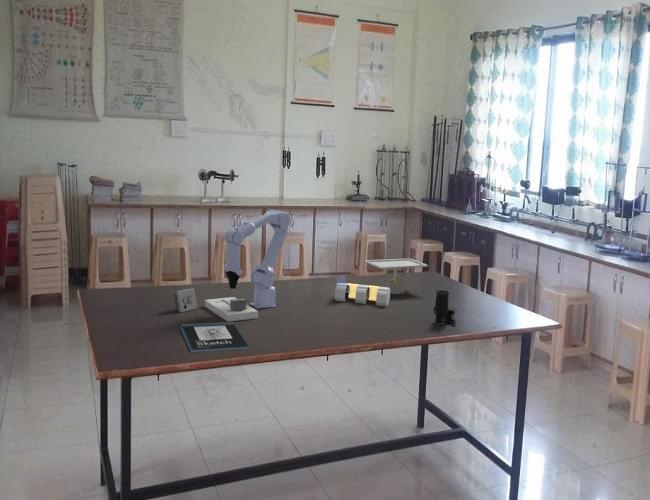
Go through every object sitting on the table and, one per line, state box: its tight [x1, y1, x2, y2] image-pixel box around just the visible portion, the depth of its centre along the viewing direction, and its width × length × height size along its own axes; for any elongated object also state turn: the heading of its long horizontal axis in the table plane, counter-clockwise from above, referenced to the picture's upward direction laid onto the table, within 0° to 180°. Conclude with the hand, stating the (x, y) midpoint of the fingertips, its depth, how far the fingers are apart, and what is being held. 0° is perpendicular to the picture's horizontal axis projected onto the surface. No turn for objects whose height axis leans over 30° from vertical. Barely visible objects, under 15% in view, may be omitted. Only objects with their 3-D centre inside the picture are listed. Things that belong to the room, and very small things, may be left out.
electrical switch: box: [173, 287, 198, 313], centre depth 293 cm, size 9×5×9 cm, turn 141°
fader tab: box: [230, 298, 247, 311], centre depth 287 cm, size 6×3×4 cm, turn 122°
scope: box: [433, 289, 458, 324], centre depth 294 cm, size 8×14×10 cm
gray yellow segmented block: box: [334, 274, 391, 307], centre depth 323 cm, size 25×10×13 cm, turn 76°
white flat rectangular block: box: [204, 296, 259, 323], centre depth 294 cm, size 14×25×3 cm, turn 32°
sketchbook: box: [180, 321, 251, 353], centre depth 259 cm, size 22×30×2 cm
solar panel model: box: [363, 257, 429, 295], centre depth 346 cm, size 28×17×15 cm, turn 115°
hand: (232, 288), depth 293 cm, fingers closed
